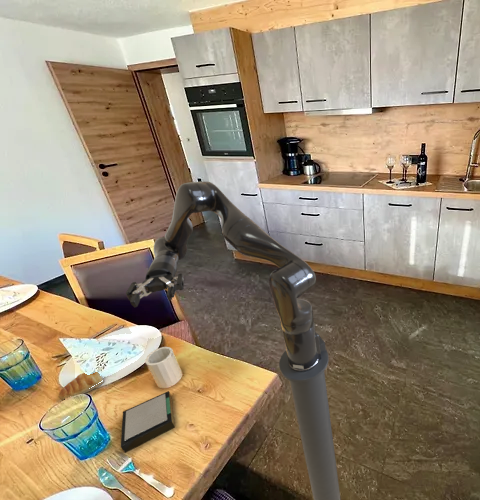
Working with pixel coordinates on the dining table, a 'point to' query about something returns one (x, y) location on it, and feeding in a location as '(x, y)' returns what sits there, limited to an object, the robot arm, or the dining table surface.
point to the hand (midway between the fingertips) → (151, 301)
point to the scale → (147, 421)
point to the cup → (164, 367)
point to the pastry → (81, 385)
